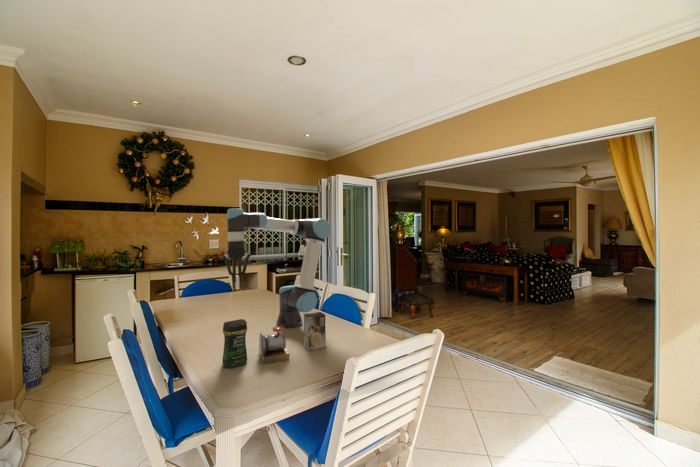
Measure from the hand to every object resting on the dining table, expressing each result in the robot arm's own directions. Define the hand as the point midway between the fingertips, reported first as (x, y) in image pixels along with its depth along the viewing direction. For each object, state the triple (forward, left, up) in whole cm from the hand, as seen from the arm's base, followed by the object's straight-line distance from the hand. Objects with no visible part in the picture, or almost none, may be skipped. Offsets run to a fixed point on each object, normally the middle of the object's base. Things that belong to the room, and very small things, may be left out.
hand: (237, 288), depth 155 cm
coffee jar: (+3, +21, -28) cm, 35 cm away
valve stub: (-13, +21, -28) cm, 37 cm away
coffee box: (-34, +17, -28) cm, 47 cm away
